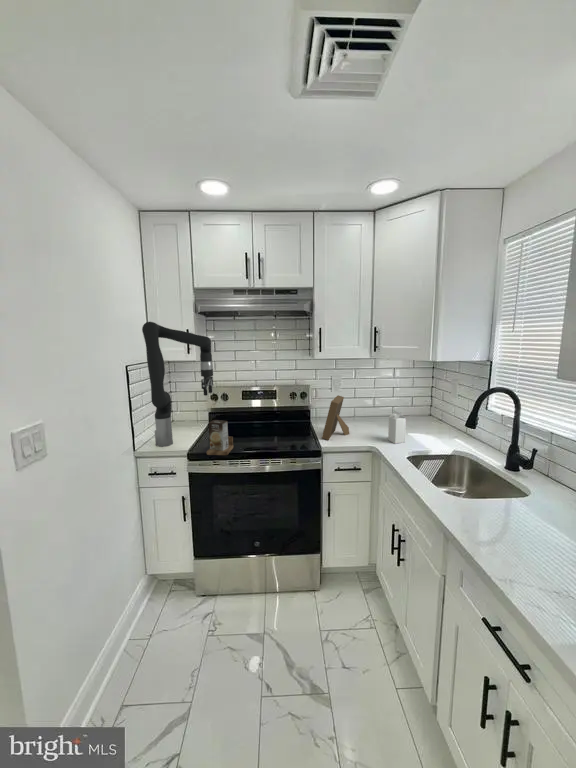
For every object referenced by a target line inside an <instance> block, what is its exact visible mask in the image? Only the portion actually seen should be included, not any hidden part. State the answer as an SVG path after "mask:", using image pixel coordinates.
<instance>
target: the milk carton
mask: <svg viewBox="0 0 576 768" xmlns="http://www.w3.org/2000/svg"><path fill="white" fill-rule="evenodd" d="M406 423H407V418H406V417H405V416H404V415H403V414H402V412H400V411H398V410H395V409H394V410H393V412H392V413H391V414H390V415H389V416H388V436H387V437H388V439H387V441H389V442H390V443H392V444H395V445H396V444H402V443H403V444H404V443H406V429H407V428H406Z"/></svg>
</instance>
